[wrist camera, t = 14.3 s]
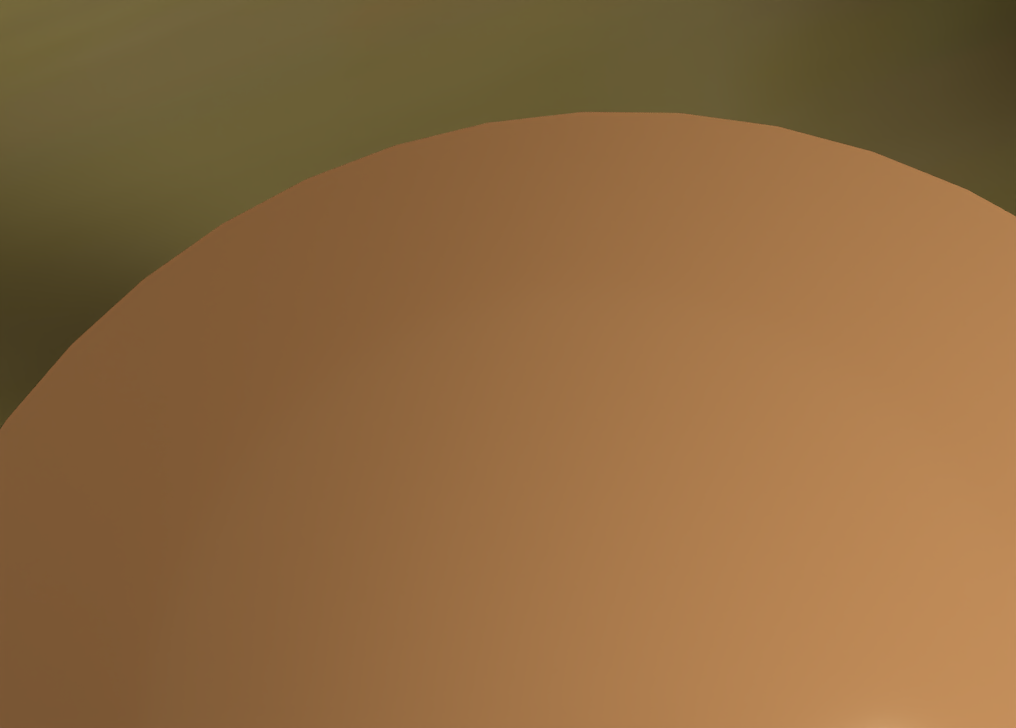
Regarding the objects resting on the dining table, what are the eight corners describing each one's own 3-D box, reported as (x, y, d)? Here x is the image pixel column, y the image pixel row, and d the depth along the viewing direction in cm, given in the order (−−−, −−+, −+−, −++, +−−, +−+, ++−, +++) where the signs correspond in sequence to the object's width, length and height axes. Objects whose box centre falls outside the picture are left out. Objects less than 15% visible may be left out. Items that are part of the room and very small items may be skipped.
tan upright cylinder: (464, 686, 14) (22, 2102, 2) (391, 428, 15) (-292, 358, 3) (724, 609, 14) (1813, 1601, 2) (639, 352, 14) (1098, -77, 3)
